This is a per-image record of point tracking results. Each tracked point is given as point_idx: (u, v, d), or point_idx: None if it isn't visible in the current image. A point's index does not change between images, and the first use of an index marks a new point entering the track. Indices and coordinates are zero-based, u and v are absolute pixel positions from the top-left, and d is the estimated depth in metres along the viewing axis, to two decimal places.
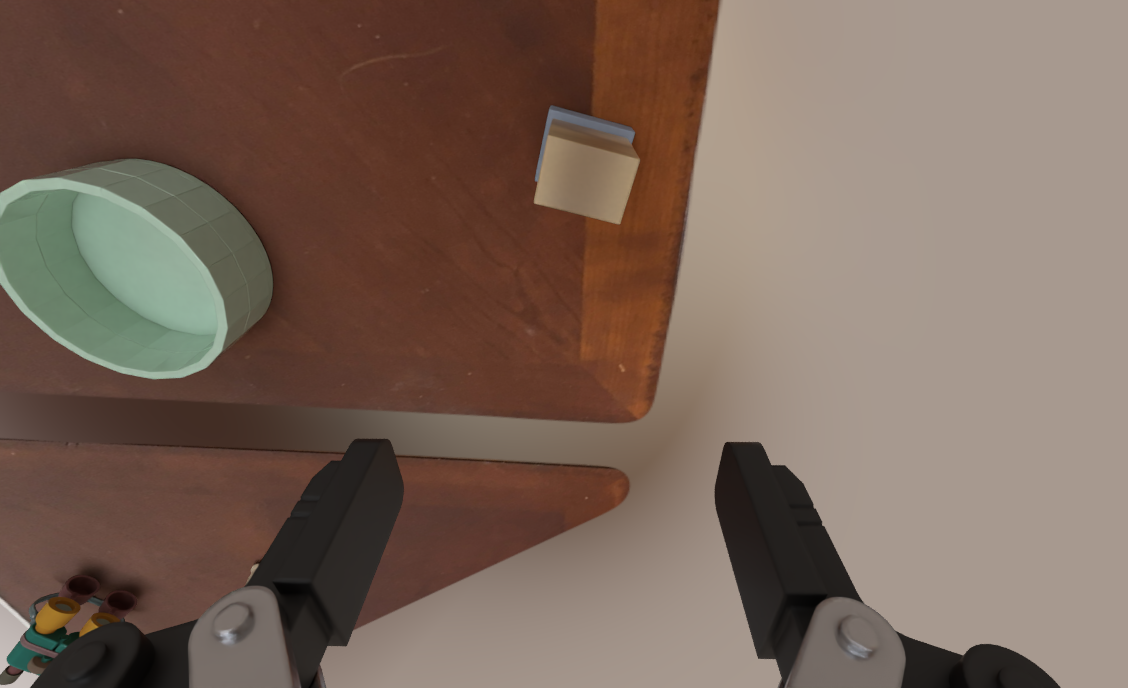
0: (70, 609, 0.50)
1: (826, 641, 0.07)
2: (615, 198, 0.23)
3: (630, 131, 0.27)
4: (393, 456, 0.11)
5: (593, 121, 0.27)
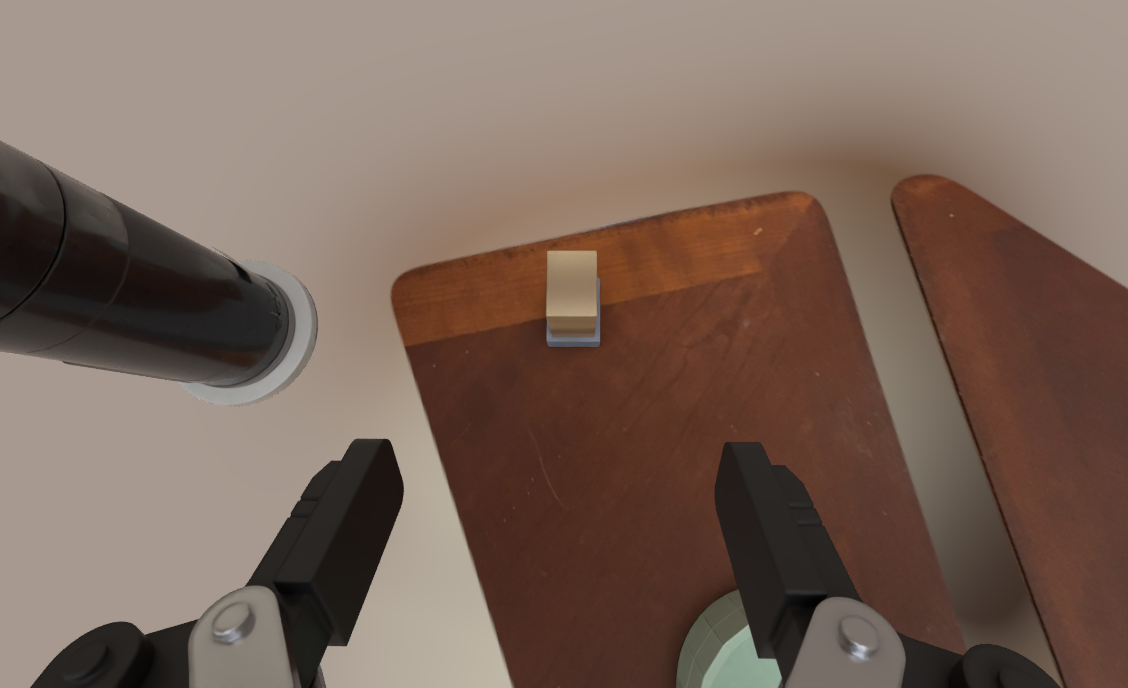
0: None
1: (826, 641, 0.07)
2: (578, 259, 0.30)
3: None
4: (393, 456, 0.11)
5: None
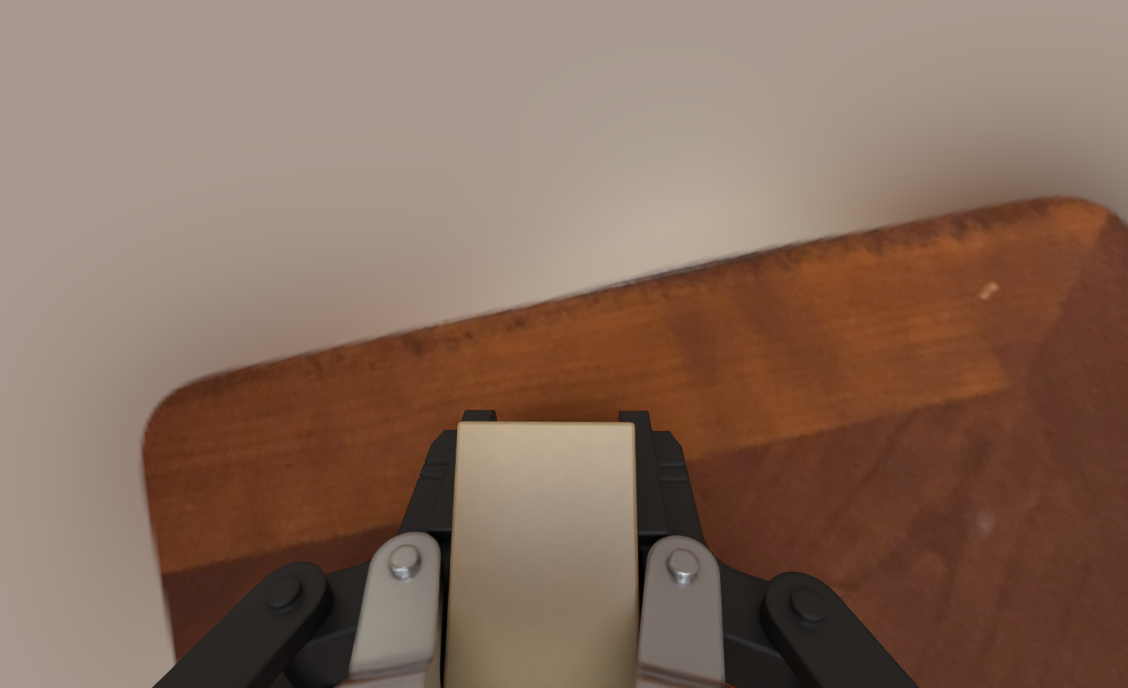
0: None
1: (661, 582, 0.08)
2: (567, 456, 0.08)
3: None
4: None
5: None
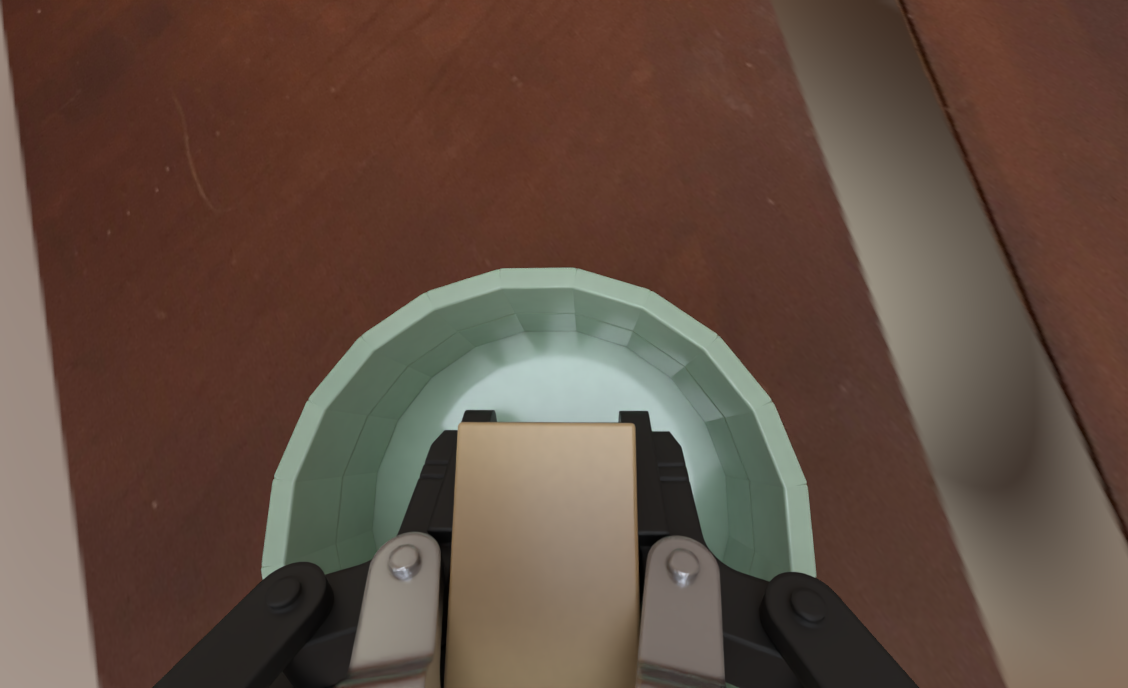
0: None
1: (661, 582, 0.08)
2: (567, 458, 0.08)
3: None
4: None
5: None
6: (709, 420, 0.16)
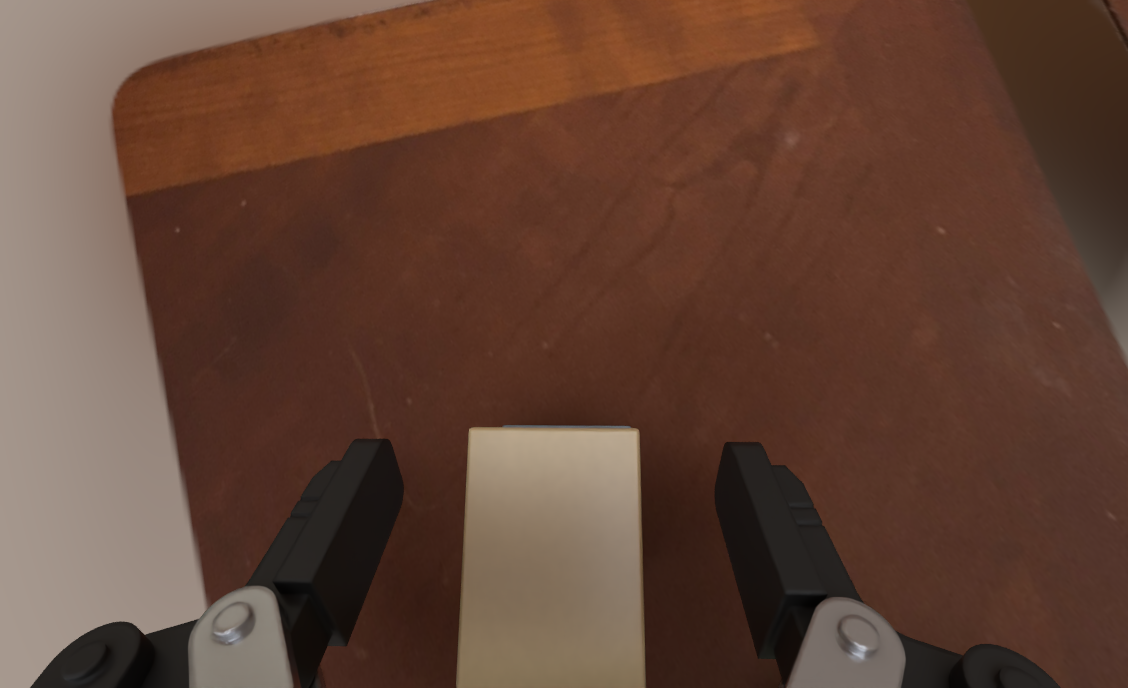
0: None
1: (826, 641, 0.07)
2: (574, 462, 0.09)
3: None
4: (393, 456, 0.11)
5: None
6: None
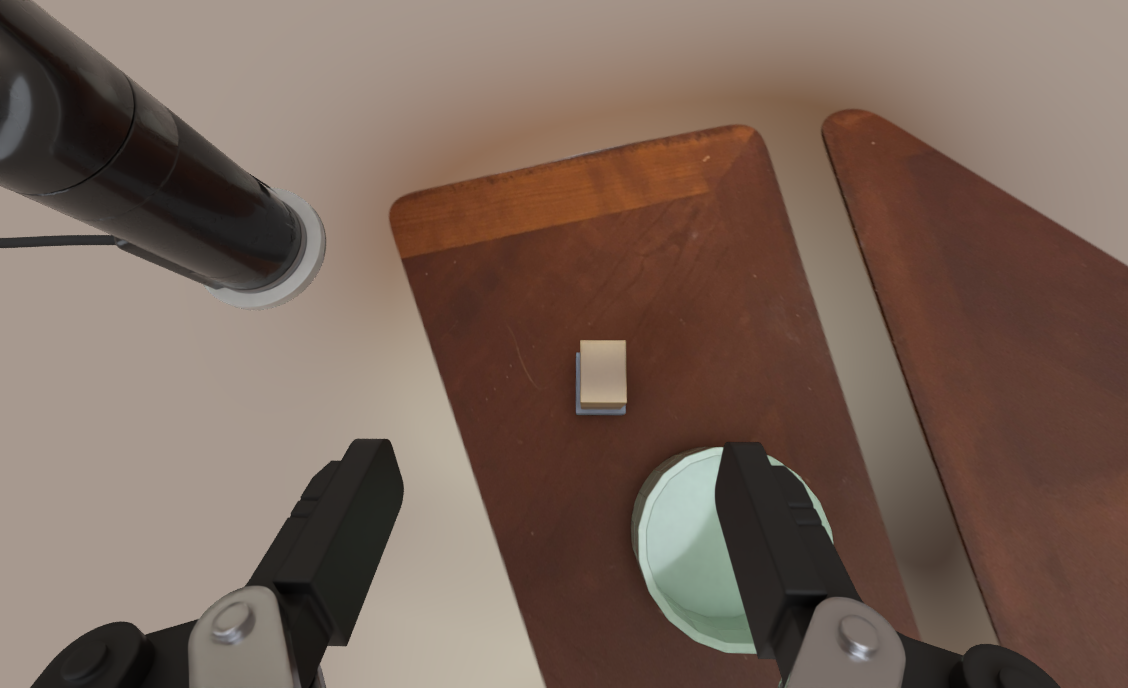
0: None
1: (826, 641, 0.07)
2: (608, 348, 0.33)
3: (576, 355, 0.39)
4: (393, 456, 0.11)
5: (576, 381, 0.39)
6: None
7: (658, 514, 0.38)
